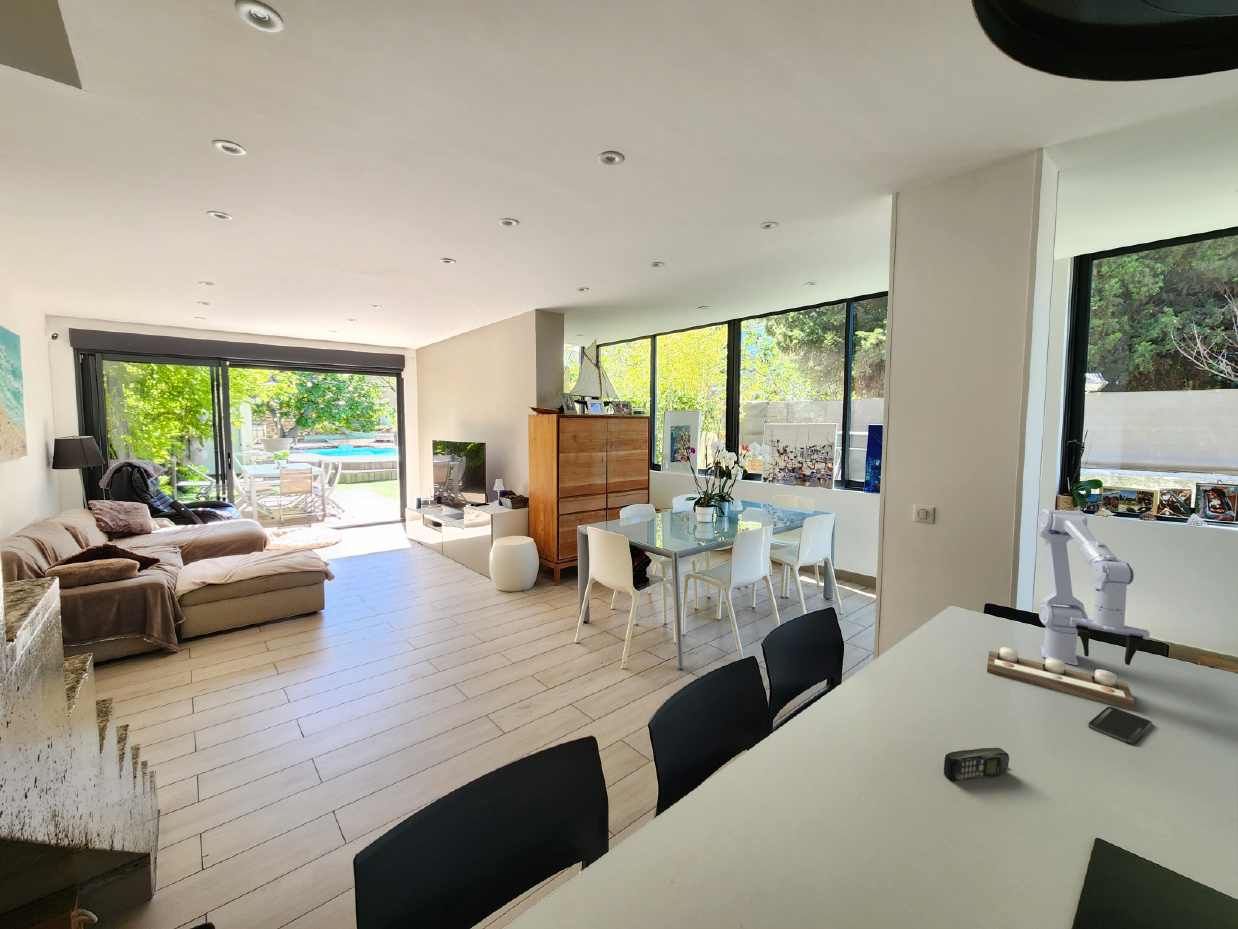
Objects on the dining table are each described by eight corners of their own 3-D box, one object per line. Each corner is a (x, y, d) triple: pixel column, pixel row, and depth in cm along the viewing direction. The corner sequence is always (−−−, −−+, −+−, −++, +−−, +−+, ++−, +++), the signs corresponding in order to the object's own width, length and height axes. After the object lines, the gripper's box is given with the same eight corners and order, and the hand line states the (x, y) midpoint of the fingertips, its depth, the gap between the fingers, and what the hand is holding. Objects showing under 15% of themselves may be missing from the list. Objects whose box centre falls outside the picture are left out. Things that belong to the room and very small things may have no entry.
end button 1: (1093, 676, 134) (1094, 667, 134) (1114, 681, 132) (1115, 672, 131) (1095, 683, 131) (1096, 673, 131) (1116, 688, 129) (1118, 678, 128)
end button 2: (999, 654, 146) (1000, 645, 146) (1017, 658, 144) (1017, 650, 144) (999, 659, 143) (1000, 650, 143) (1017, 663, 141) (1018, 655, 141)
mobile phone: (953, 761, 97) (1018, 751, 100) (941, 751, 100) (1004, 741, 103) (952, 785, 98) (1016, 774, 100) (939, 774, 101) (1002, 764, 103)
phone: (1086, 724, 116) (1108, 705, 124) (1086, 729, 116) (1108, 709, 124) (1134, 743, 110) (1154, 722, 117) (1133, 748, 110) (1154, 726, 118)
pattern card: (994, 659, 143) (994, 658, 143) (1123, 691, 127) (1123, 690, 127) (994, 664, 140) (994, 663, 140) (1125, 697, 124) (1125, 696, 124)
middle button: (1044, 665, 140) (1045, 656, 140) (1063, 669, 138) (1064, 660, 138) (1045, 670, 137) (1046, 661, 137) (1064, 675, 135) (1065, 666, 134)
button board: (988, 658, 149) (989, 650, 149) (1126, 693, 131) (1127, 684, 131) (986, 672, 141) (987, 663, 141) (1133, 710, 123) (1134, 700, 123)
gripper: (1073, 604, 132) (1070, 656, 132) (1153, 617, 123) (1149, 672, 123) (1070, 599, 137) (1068, 648, 138) (1147, 611, 128) (1143, 663, 129)
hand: (1106, 659), depth 131 cm, fingers open, 7 cm apart
